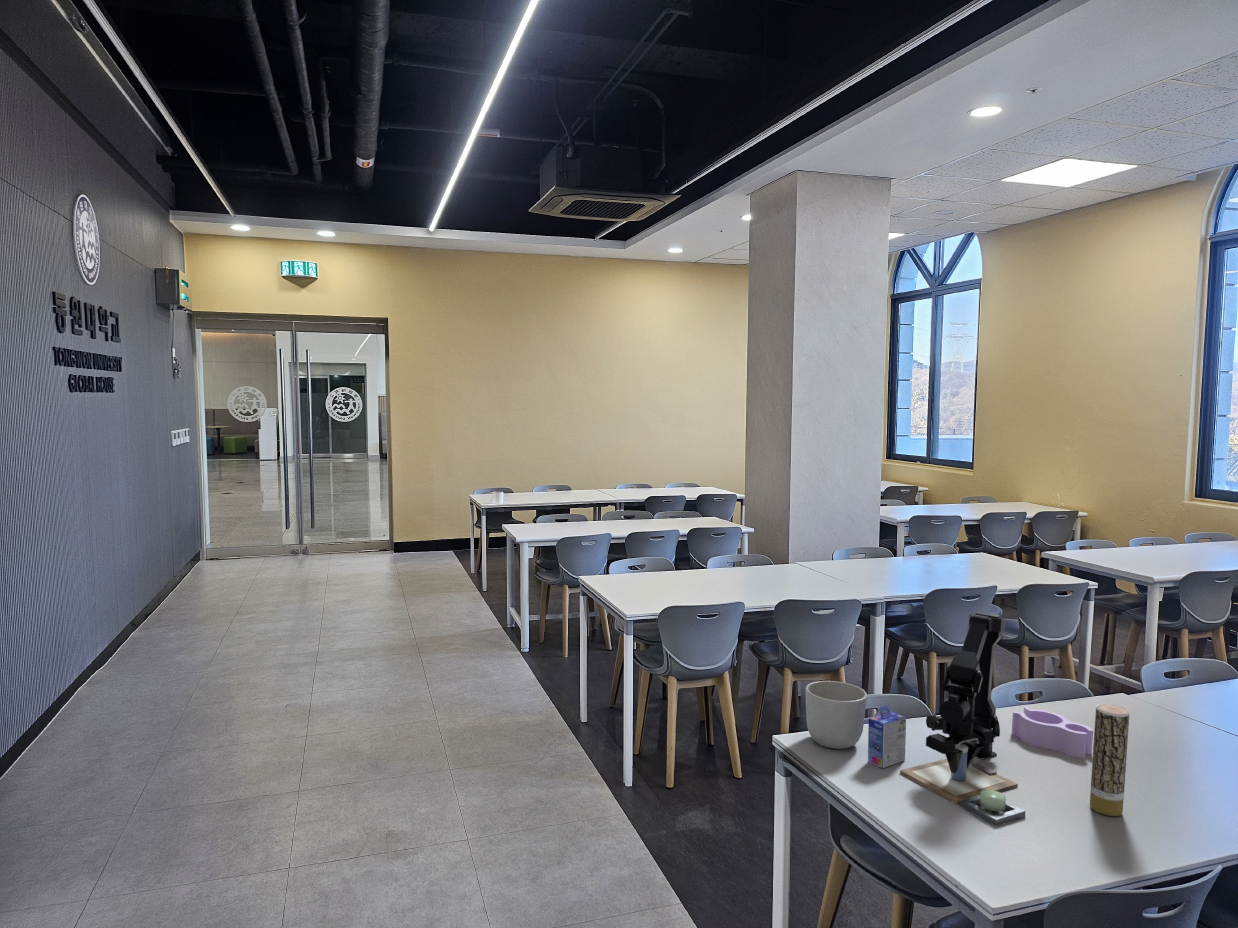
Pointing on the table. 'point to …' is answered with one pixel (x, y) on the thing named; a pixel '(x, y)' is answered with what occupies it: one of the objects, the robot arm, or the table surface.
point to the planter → (835, 713)
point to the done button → (992, 800)
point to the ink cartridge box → (886, 738)
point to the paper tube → (1109, 759)
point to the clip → (1052, 732)
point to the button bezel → (996, 820)
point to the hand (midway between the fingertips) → (958, 771)
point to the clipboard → (942, 783)
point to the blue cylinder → (961, 765)
